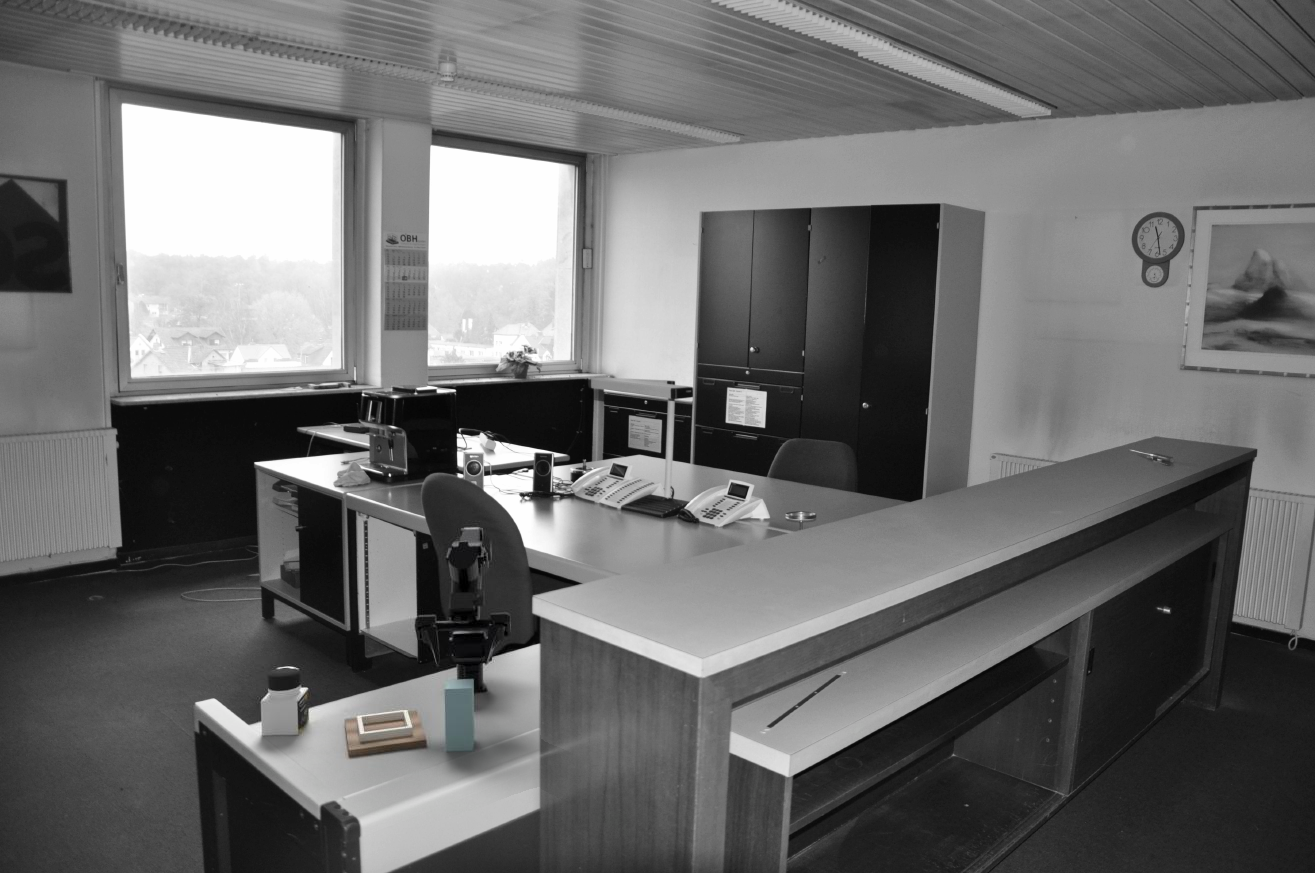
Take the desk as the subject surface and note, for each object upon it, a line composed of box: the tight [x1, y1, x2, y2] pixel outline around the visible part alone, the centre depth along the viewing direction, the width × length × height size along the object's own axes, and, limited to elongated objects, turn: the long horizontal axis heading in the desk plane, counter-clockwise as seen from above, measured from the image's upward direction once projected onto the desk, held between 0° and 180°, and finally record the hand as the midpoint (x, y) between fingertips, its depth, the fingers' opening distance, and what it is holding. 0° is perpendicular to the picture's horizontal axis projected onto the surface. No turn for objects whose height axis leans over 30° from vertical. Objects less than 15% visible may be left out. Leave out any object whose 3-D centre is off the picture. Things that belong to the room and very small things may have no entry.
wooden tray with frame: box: [344, 709, 428, 757], centre depth 185 cm, size 16×14×3 cm
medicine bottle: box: [260, 666, 310, 737], centre depth 188 cm, size 7×7×12 cm
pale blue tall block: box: [444, 679, 475, 752], centre depth 180 cm, size 5×5×12 cm
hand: (461, 664), depth 187 cm, fingers open, 9 cm apart
